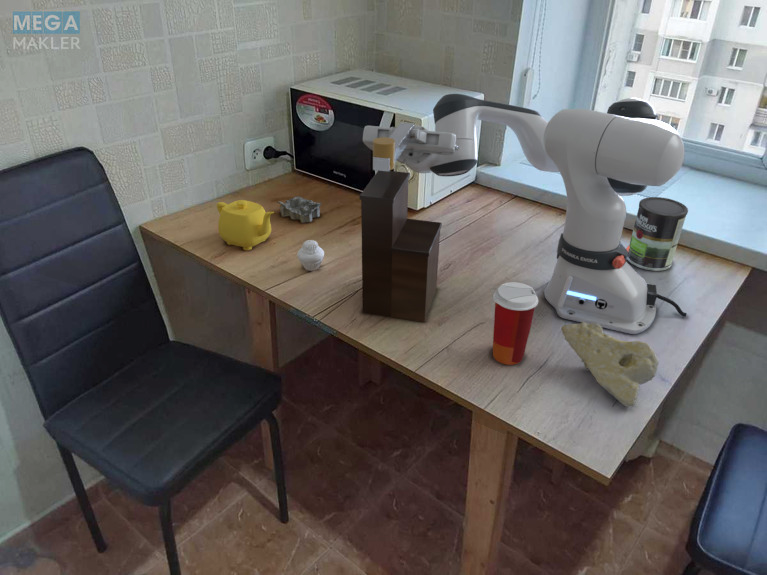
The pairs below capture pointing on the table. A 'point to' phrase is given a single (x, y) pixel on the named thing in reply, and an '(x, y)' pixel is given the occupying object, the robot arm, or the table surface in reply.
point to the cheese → (613, 360)
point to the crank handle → (391, 147)
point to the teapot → (243, 223)
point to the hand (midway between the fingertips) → (403, 131)
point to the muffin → (310, 255)
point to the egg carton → (300, 209)
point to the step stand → (396, 251)
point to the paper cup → (512, 321)
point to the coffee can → (656, 233)
